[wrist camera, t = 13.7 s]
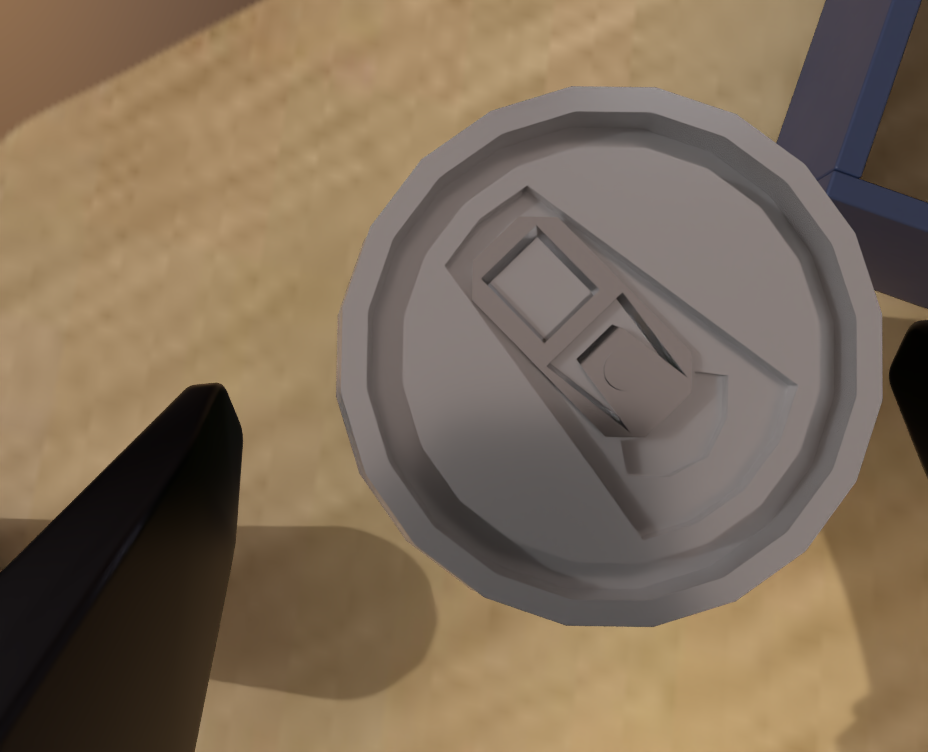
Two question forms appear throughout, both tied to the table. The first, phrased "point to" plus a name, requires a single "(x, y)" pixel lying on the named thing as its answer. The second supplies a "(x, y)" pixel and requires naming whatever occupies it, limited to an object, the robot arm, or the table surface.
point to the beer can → (610, 357)
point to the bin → (860, 135)
